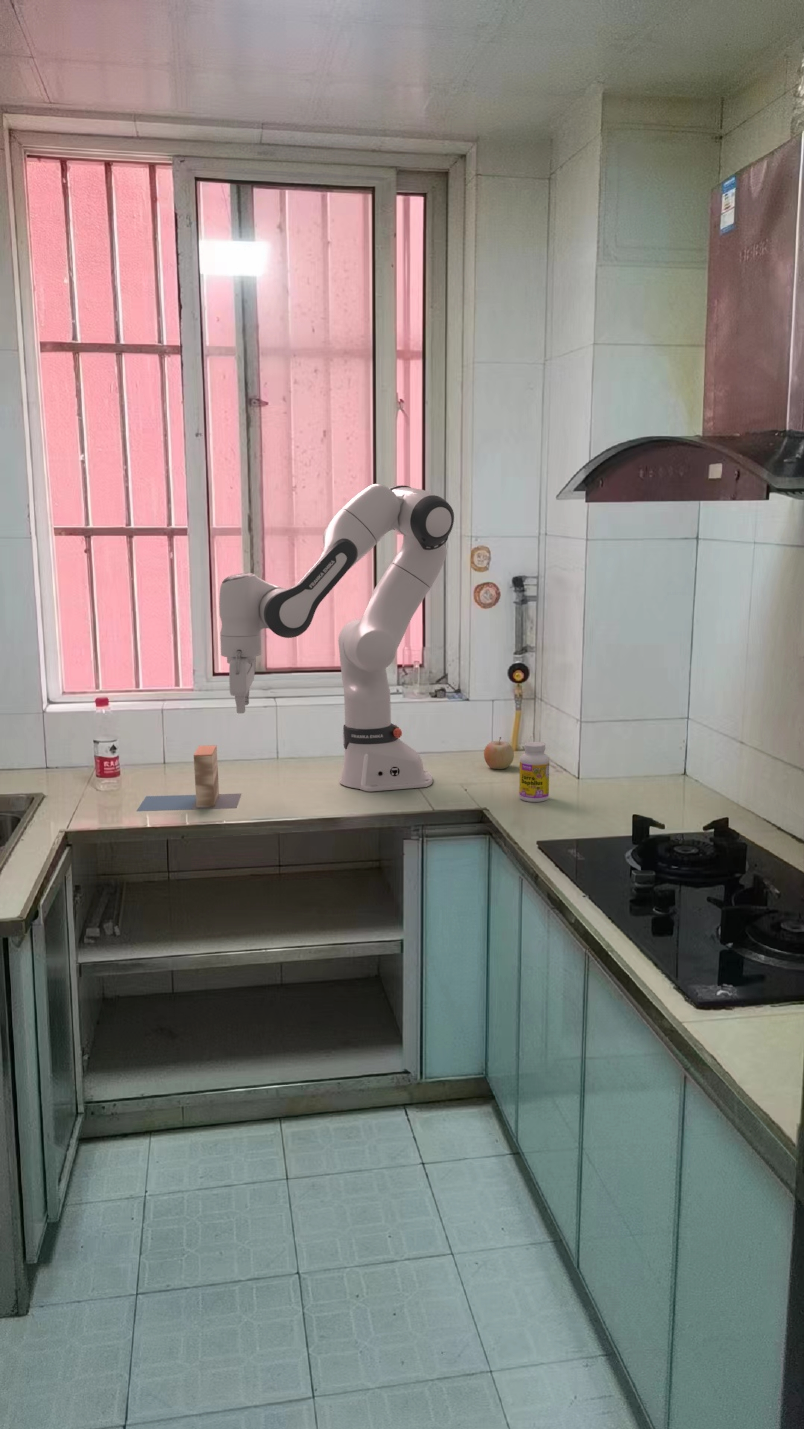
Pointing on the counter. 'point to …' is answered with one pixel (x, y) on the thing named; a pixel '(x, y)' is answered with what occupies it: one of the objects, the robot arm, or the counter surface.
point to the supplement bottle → (534, 773)
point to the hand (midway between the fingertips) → (243, 708)
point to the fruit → (498, 754)
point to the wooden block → (206, 776)
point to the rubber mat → (186, 802)
